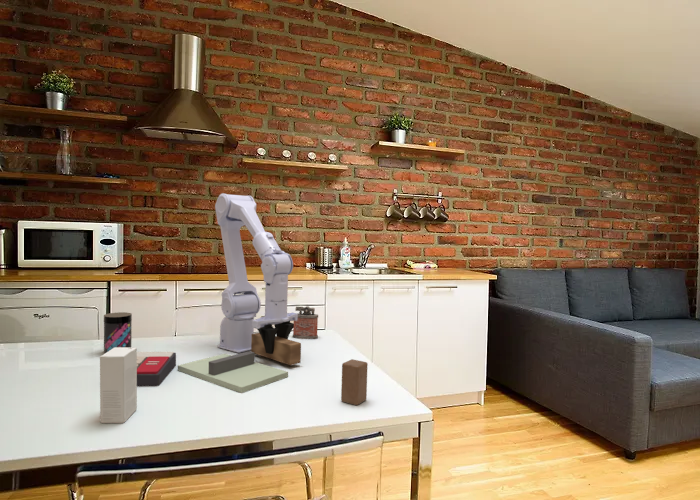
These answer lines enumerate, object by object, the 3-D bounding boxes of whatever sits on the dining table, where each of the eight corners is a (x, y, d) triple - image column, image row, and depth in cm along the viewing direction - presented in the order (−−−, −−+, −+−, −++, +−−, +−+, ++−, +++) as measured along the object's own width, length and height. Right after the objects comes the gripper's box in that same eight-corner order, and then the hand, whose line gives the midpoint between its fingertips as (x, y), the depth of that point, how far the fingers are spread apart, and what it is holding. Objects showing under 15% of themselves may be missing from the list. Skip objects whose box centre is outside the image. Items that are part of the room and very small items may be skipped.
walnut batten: (251, 352, 124) (251, 333, 124) (261, 349, 127) (261, 332, 126) (290, 365, 113) (290, 345, 113) (300, 362, 116) (301, 343, 116)
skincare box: (113, 410, 86) (114, 346, 85) (137, 409, 86) (137, 347, 86) (98, 423, 80) (98, 356, 79) (124, 423, 80) (124, 356, 80)
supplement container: (97, 356, 120) (98, 316, 119) (112, 349, 126) (112, 311, 126) (123, 357, 119) (123, 317, 119) (136, 350, 126) (136, 312, 126)
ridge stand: (177, 370, 110) (177, 353, 110) (225, 358, 121) (225, 343, 121) (241, 393, 96) (241, 374, 96) (288, 376, 108) (288, 360, 107)
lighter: (318, 337, 147) (319, 306, 147) (316, 339, 144) (317, 308, 143) (293, 335, 148) (294, 305, 147) (291, 338, 145) (292, 306, 144)
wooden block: (357, 406, 91) (358, 366, 91) (340, 401, 93) (341, 363, 93) (367, 400, 94) (368, 362, 94) (350, 395, 97) (351, 358, 96)
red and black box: (105, 371, 97) (129, 349, 112) (105, 391, 98) (130, 366, 113) (158, 371, 99) (176, 349, 114) (159, 390, 99) (176, 366, 114)
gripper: (266, 305, 111) (265, 360, 112) (306, 298, 123) (305, 348, 123) (246, 301, 115) (245, 354, 116) (287, 295, 127) (286, 344, 128)
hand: (275, 351), depth 120 cm, fingers closed on walnut batten, 4 cm apart
